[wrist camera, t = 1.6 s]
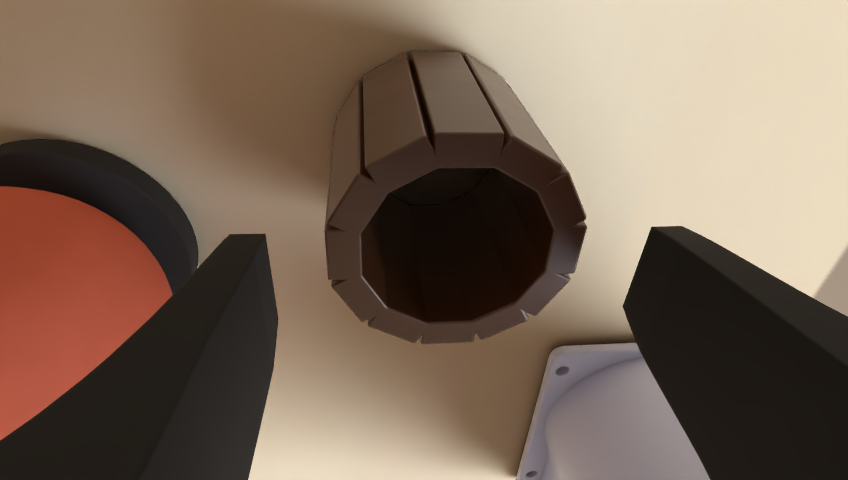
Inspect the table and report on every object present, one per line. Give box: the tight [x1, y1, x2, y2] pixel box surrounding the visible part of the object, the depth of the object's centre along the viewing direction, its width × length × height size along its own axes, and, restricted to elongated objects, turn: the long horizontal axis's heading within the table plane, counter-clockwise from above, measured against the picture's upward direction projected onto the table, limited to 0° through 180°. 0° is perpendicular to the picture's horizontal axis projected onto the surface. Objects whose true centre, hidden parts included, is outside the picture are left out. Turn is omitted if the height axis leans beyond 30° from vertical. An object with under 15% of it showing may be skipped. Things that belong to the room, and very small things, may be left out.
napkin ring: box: [325, 50, 587, 344], centre depth 13 cm, size 5×5×5 cm
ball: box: [0, 139, 198, 440], centre depth 12 cm, size 7×7×7 cm
